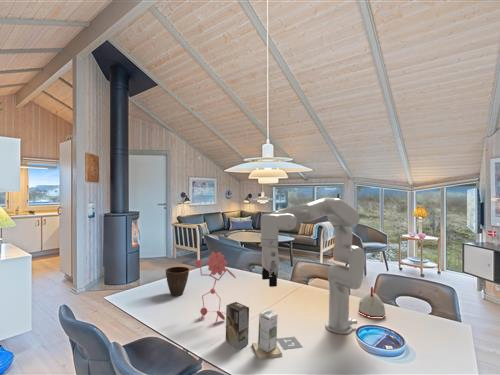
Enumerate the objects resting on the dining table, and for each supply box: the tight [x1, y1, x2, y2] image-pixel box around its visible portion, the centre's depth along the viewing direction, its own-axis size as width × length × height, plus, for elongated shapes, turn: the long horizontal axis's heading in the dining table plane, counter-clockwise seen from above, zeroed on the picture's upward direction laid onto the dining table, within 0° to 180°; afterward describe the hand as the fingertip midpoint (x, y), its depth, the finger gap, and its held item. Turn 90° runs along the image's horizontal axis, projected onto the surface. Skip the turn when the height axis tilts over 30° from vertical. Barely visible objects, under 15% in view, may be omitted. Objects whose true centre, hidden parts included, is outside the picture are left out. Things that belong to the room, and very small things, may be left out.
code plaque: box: [276, 336, 304, 350], centre depth 124 cm, size 9×9×1 cm
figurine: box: [194, 251, 237, 328], centre depth 149 cm, size 15×26×35 cm, turn 64°
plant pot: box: [165, 266, 190, 297], centre depth 181 cm, size 15×15×16 cm
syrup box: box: [257, 309, 278, 352], centre depth 118 cm, size 6×6×14 cm
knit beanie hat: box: [358, 286, 386, 317], centre depth 159 cm, size 14×14×15 cm
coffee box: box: [225, 301, 250, 350], centre depth 124 cm, size 9×6×16 cm
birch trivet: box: [251, 341, 283, 360], centre depth 117 cm, size 10×10×1 cm
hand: (269, 282), depth 119 cm, fingers open, 9 cm apart
